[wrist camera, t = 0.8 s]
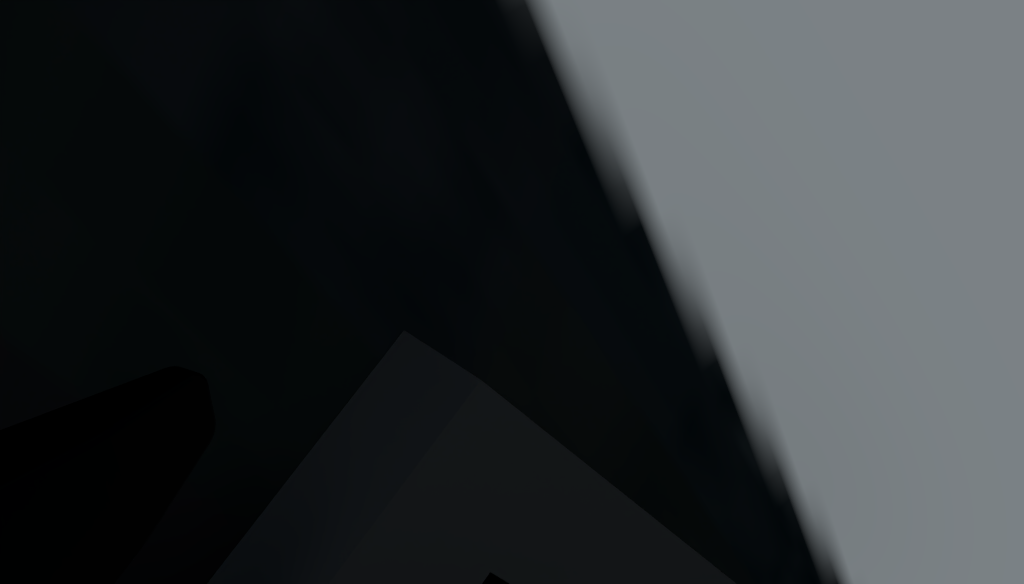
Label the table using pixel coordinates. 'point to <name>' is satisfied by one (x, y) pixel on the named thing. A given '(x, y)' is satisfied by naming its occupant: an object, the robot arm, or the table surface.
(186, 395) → the robot arm
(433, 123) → the table surface
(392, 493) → the socket block
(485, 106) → the table surface
